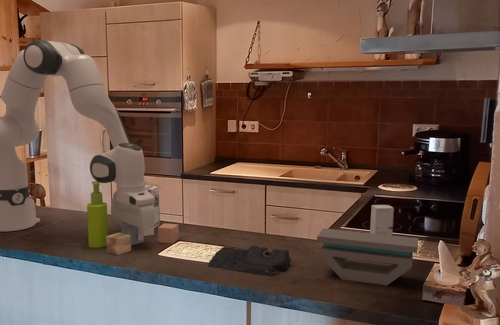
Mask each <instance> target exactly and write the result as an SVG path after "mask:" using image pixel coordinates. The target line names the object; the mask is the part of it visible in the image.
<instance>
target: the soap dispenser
mask: <svg viewBox="0 0 500 325" xmlns="http://www.w3.org/2000/svg"><path fill="white" fill-rule="evenodd" d="M91 184H92V187H93V188H92V189H93V192H91V193H90V203H87V205H86V211H87V234H88V235H87V236H88V247H89V248H94V249H99V248H104V247H107V242H106V236H109V226H108V225H109V224H108V222H109V221H108V204H107V203H106V202H103V201H104V200H103V192H101V191H100V185H101V183H99V181H96V180H95V181H91Z"/></svg>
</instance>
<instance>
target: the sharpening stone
mask: <svg viewBox="0 0 500 325" xmlns="http://www.w3.org/2000/svg"><path fill="white" fill-rule="evenodd" d="M316 242H317V243H324V244H323V245H322V246H321V248H320V258H321V259H322V260H323V261H324V262H325V263H326V264H327V266H329V268H331V270H332V271H333V272H334V273H335V274H336V275H337V276H338V277H339V278H340V279H341V280H344V281H352V282H357V283H358V282H360V283H366V284H374V285H381V286H388V285H390V284H391V283H392V282H394V281H395V280H397V279H398V278H400V277H401V276H403V275H404V274H405V273H407V272H408V271H410V270H411V269H412V265H413V259H414V254H418V248H419V238H418V237H411V236H410V237H408V236H401V235H400V236H399V235H393V234H392V235H382V234H372V233H370V232H362V231H361V232H360V231H351V230H343V229H342V230H341V229H334V228H333V229H332V228H322V229H321V231H320V232H318V234H317V236H316Z"/></svg>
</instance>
